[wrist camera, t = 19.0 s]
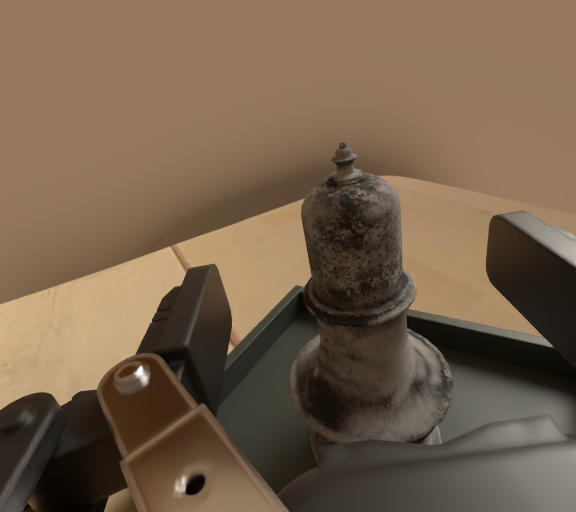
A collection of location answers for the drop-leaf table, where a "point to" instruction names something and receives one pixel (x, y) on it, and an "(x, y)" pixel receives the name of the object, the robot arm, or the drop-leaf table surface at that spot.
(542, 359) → the tray
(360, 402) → the salt shaker
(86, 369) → the drop-leaf table surface
